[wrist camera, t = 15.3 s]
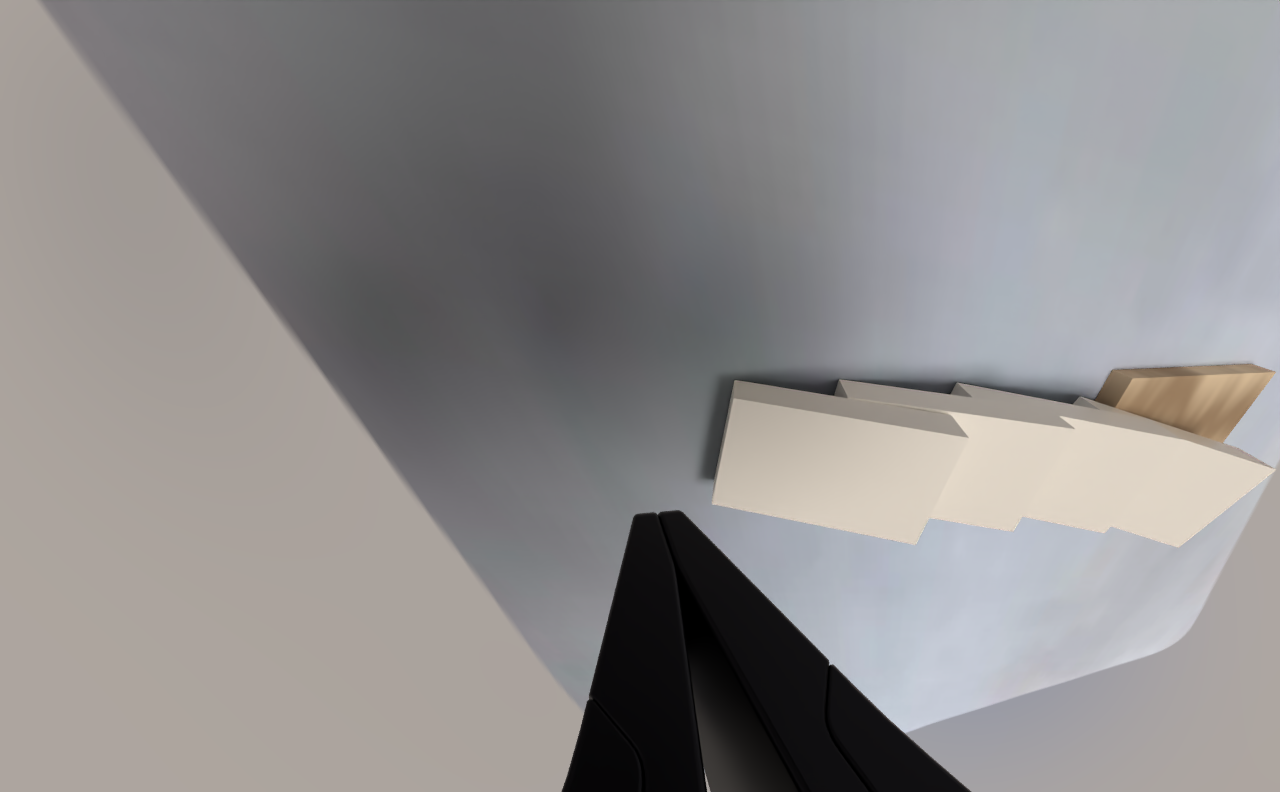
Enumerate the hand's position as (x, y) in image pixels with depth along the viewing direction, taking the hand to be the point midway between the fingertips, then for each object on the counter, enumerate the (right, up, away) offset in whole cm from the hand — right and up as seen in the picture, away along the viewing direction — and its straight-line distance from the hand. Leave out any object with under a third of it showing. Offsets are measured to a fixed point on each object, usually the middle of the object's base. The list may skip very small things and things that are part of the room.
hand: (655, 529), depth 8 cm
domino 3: (+13, 0, +12) cm, 18 cm away
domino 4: (+19, 0, +13) cm, 23 cm away
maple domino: (+21, +1, +14) cm, 25 cm away
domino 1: (+3, 0, +11) cm, 11 cm away
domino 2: (+8, +1, +11) cm, 14 cm away
